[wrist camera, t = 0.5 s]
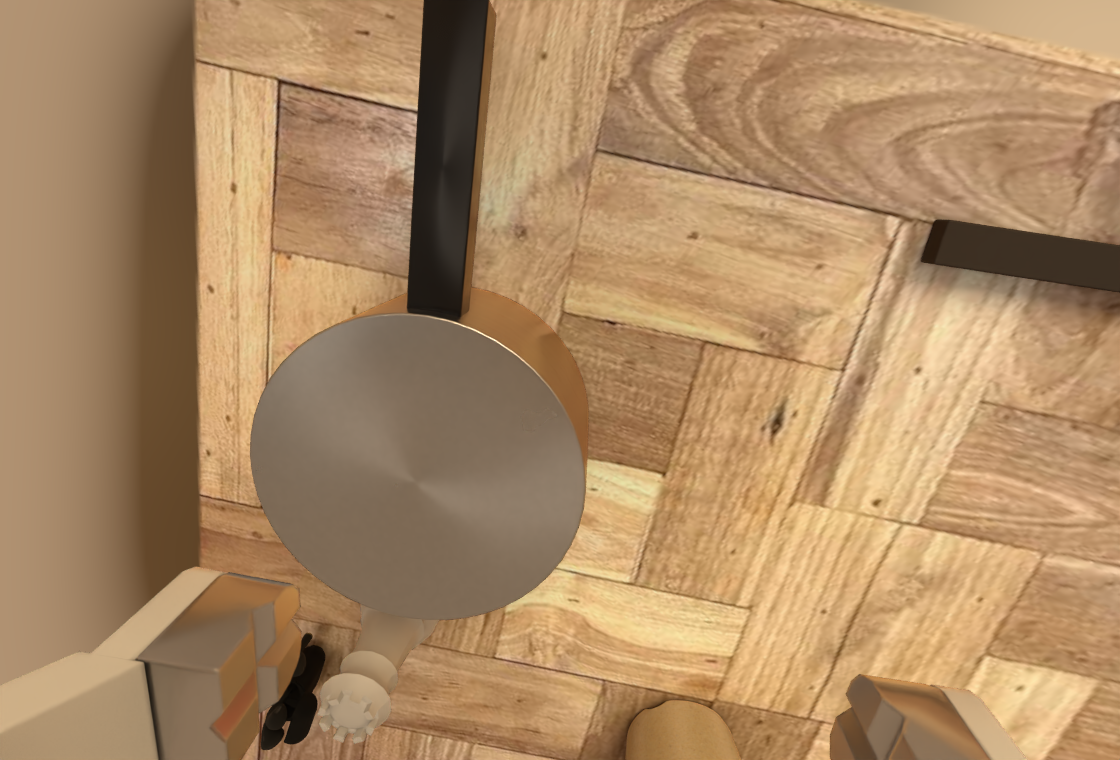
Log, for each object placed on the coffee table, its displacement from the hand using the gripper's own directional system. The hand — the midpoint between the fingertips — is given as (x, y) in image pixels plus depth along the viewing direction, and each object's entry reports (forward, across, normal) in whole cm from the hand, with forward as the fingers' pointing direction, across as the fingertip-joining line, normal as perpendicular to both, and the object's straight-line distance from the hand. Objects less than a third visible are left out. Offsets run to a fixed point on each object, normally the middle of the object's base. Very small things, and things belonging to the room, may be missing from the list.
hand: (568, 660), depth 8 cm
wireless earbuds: (+19, +13, +22) cm, 32 cm away
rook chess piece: (+19, +8, +16) cm, 26 cm away
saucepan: (+19, +6, 0) cm, 20 cm away
